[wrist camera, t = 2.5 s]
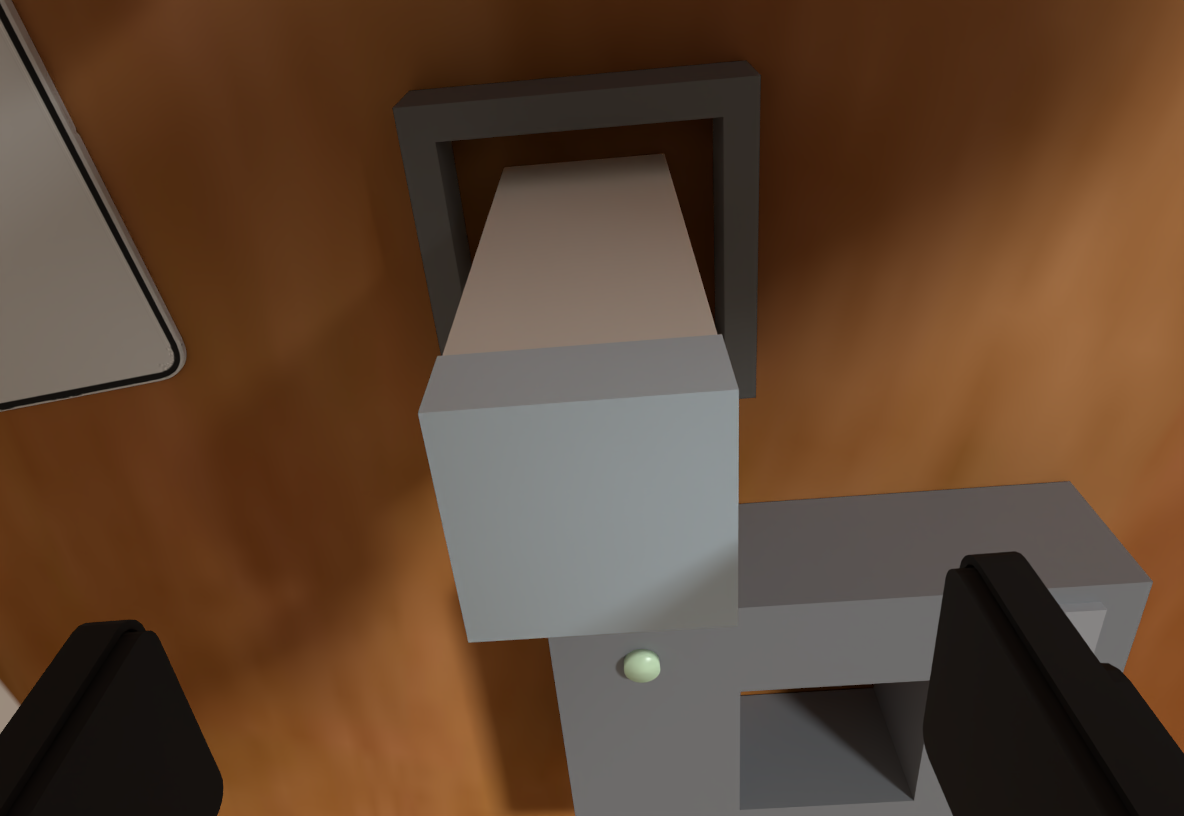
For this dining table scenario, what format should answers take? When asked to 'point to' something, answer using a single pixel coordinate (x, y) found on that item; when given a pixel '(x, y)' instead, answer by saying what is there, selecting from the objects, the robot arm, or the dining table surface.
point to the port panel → (822, 656)
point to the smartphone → (65, 254)
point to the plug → (586, 414)
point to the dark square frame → (587, 105)
